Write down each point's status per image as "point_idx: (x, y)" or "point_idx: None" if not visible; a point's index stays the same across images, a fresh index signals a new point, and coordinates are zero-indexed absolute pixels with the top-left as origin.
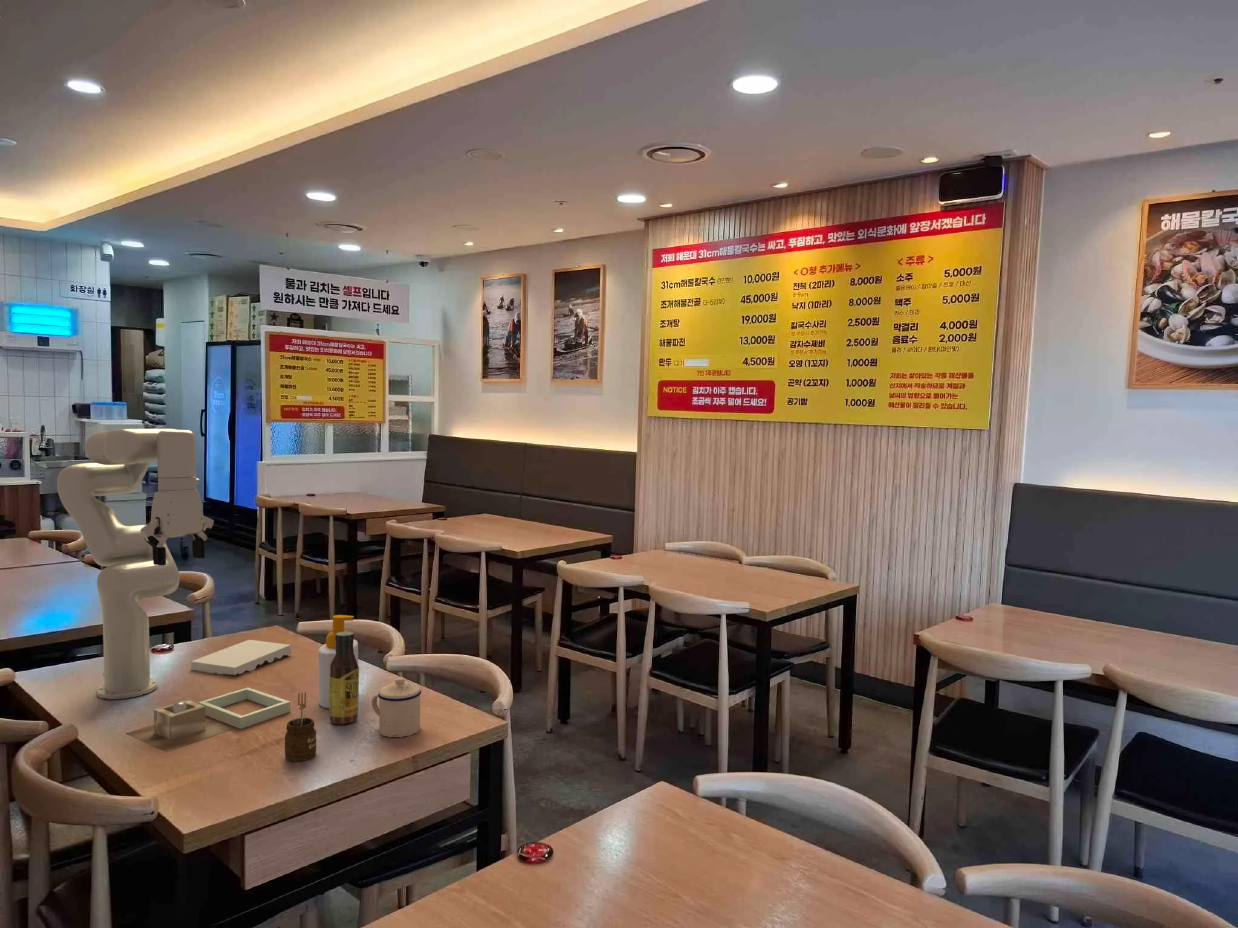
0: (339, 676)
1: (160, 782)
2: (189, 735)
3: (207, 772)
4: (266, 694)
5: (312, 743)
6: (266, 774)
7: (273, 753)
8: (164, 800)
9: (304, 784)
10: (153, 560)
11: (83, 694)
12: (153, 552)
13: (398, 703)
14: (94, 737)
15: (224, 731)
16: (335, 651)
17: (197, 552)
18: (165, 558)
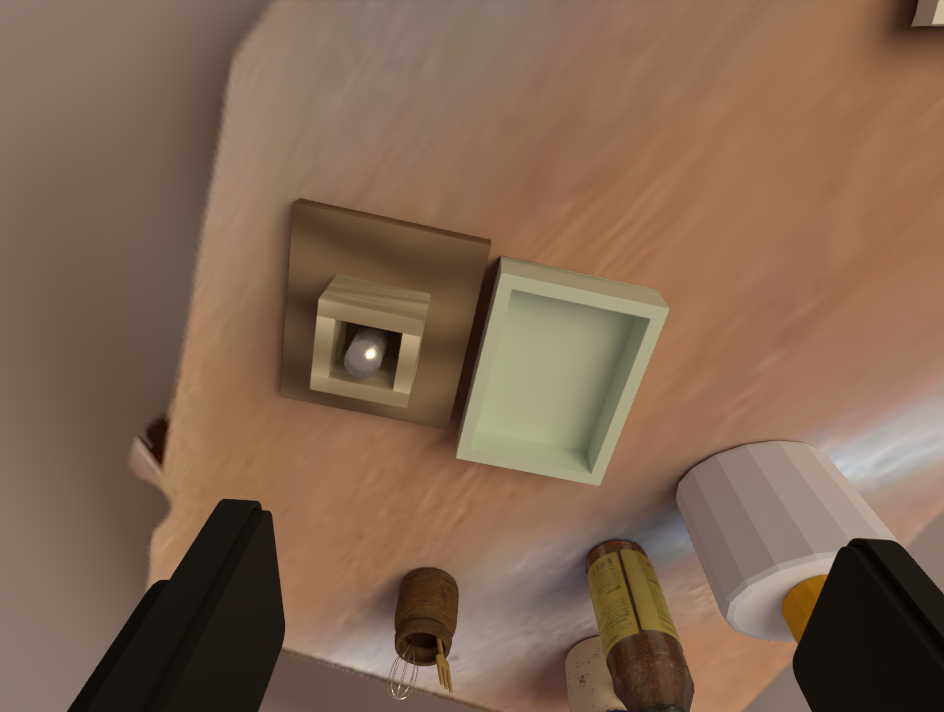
0: (609, 671)
1: (212, 457)
2: None
3: (290, 498)
4: (628, 400)
5: (427, 633)
6: (341, 583)
7: (415, 542)
8: (177, 512)
9: (345, 646)
10: (159, 586)
11: None
12: (87, 703)
13: None
14: (262, 87)
15: (427, 421)
16: (750, 627)
17: (849, 680)
18: (255, 704)
